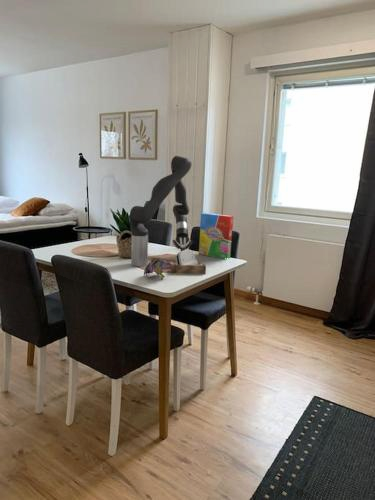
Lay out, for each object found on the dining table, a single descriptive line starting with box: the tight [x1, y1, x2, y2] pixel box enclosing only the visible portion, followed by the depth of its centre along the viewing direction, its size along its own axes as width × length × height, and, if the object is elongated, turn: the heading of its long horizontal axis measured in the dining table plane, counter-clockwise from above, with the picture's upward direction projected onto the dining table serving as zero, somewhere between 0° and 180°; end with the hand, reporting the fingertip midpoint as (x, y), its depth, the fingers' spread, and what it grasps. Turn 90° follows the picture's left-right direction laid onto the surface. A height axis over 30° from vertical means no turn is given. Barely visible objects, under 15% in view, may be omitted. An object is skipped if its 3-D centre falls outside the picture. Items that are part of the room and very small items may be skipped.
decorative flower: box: [143, 257, 173, 280], centre depth 187 cm, size 14×12×15 cm
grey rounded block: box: [174, 249, 199, 265], centre depth 214 cm, size 17×5×10 cm, turn 150°
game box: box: [198, 212, 234, 260], centre depth 238 cm, size 21×6×27 cm, turn 60°
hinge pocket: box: [172, 261, 207, 275], centre depth 201 cm, size 17×7×4 cm, turn 96°
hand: (183, 254), depth 223 cm, fingers closed
